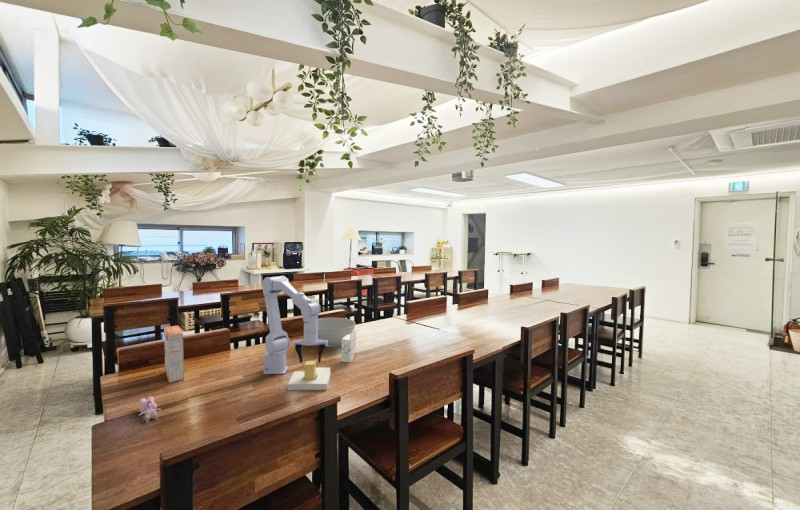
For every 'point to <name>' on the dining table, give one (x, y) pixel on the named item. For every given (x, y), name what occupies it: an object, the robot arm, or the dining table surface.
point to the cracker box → (173, 353)
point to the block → (310, 370)
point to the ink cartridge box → (349, 347)
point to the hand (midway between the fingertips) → (310, 361)
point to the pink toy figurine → (148, 408)
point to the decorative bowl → (334, 330)
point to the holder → (309, 381)
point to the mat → (323, 369)
